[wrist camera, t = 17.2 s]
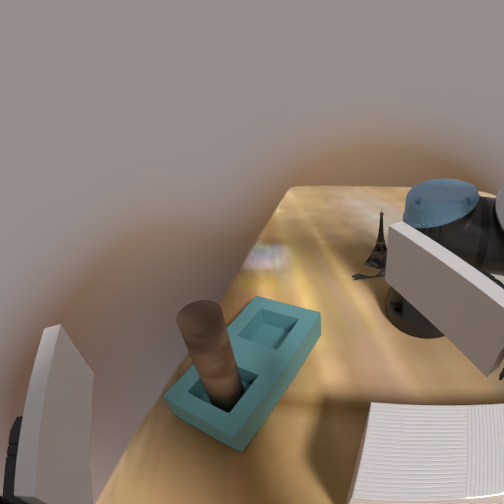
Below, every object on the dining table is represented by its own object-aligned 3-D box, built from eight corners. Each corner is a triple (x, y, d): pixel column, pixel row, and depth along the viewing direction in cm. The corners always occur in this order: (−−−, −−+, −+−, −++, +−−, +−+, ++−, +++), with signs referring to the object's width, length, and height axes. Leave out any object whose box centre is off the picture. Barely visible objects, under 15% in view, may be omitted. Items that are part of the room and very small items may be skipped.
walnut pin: (224, 379, 45) (196, 296, 37) (252, 392, 42) (230, 307, 34) (204, 403, 41) (167, 321, 33) (232, 417, 39) (201, 336, 31)
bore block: (260, 316, 58) (256, 295, 55) (320, 334, 52) (320, 312, 49) (174, 414, 41) (162, 396, 39) (241, 452, 35) (234, 436, 33)
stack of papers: (341, 517, 25) (351, 497, 20) (359, 443, 33) (371, 401, 28) (561, 496, 13) (610, 461, 8) (557, 434, 22) (596, 389, 16)
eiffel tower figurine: (352, 283, 63) (353, 223, 56) (341, 257, 71) (340, 202, 65) (418, 272, 61) (424, 215, 55) (401, 248, 70) (404, 196, 63)
